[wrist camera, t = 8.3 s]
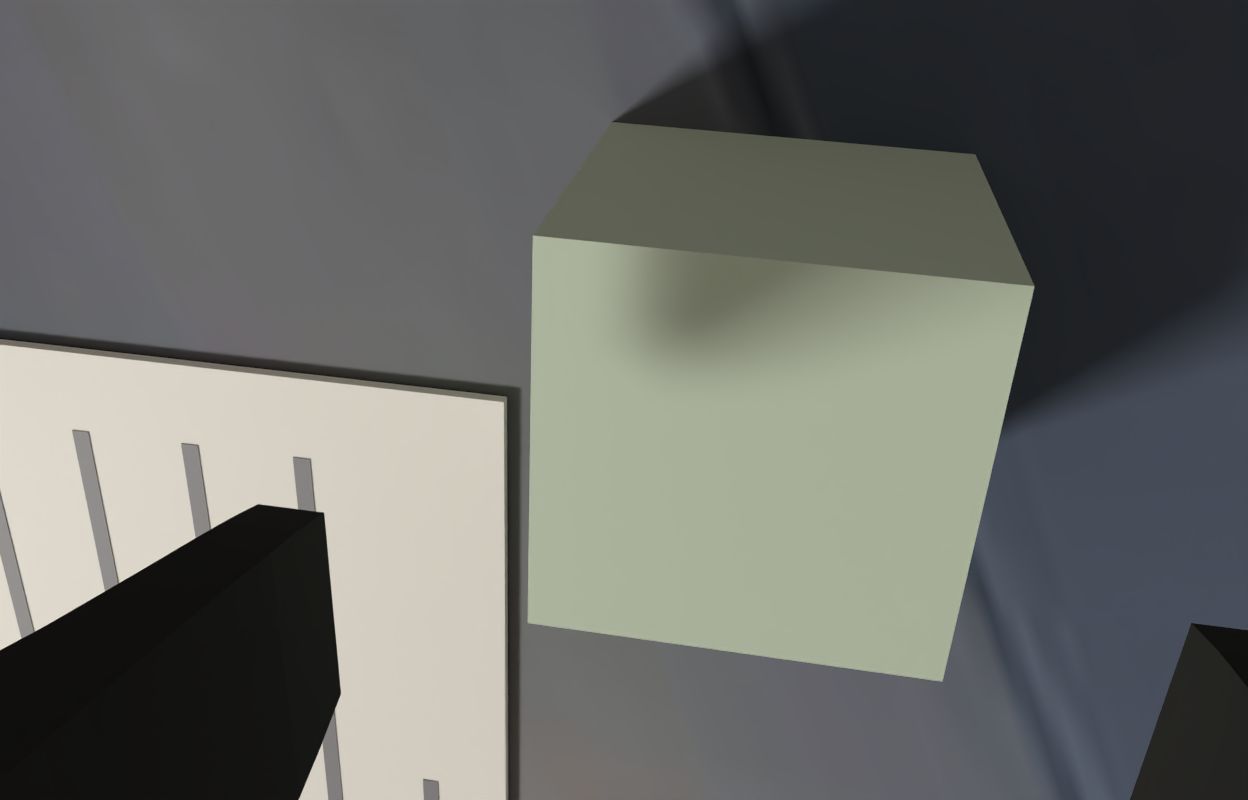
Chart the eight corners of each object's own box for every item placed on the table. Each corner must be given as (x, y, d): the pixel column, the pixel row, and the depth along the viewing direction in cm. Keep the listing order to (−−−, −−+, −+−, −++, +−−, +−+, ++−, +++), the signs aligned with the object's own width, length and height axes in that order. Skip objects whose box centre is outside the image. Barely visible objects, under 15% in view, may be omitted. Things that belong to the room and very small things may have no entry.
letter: (506, 396, 18) (503, 402, 18) (508, 1027, 26) (506, 1037, 25) (-171, 319, 20) (-181, 324, 19) (16, 938, 27) (10, 946, 27)
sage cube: (975, 152, 15) (1034, 286, 11) (912, 467, 18) (942, 681, 13) (612, 120, 16) (532, 235, 12) (598, 429, 18) (527, 623, 14)
